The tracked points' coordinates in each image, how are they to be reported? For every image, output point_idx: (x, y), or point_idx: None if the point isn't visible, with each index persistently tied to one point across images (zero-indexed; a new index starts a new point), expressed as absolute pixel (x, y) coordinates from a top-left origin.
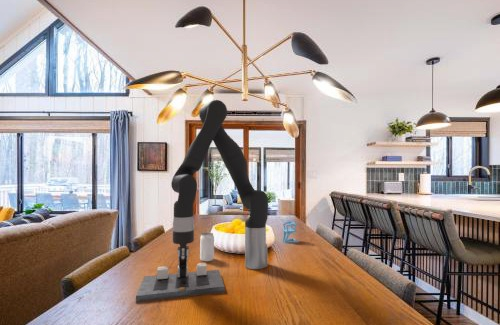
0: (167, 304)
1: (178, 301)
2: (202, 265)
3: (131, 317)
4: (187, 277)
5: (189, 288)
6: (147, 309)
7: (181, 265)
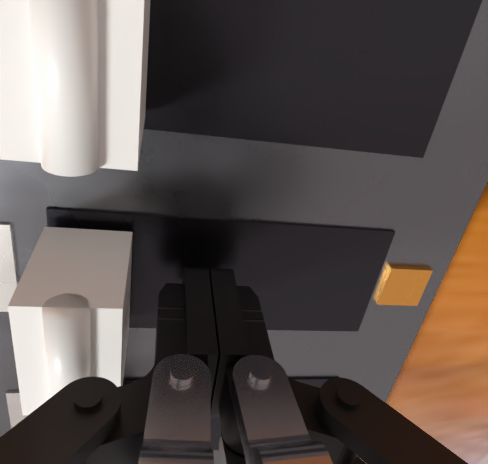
0: (453, 334)
1: (459, 277)
2: (114, 52)
3: (469, 451)
4: (145, 227)
5: (433, 227)
6: (440, 411)
7: (353, 460)
